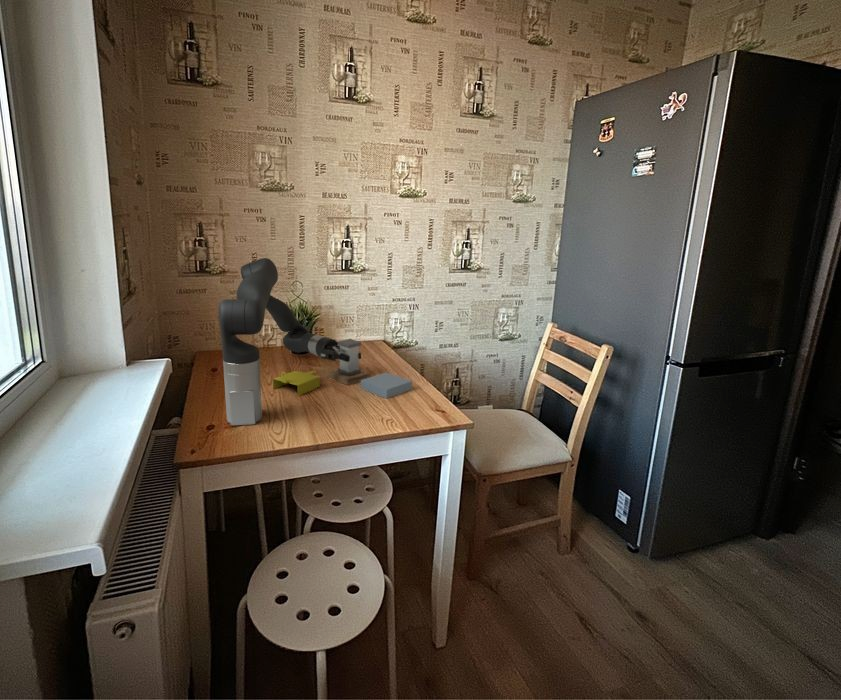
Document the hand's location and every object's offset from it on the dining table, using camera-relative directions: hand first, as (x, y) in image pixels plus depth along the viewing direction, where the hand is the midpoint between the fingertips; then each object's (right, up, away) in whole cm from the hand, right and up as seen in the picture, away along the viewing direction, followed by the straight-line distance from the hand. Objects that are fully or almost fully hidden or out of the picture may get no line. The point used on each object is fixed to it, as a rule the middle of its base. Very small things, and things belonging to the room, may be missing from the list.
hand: (354, 357), depth 167 cm
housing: (-2, -5, +3) cm, 7 cm away
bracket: (-17, -10, -6) cm, 21 cm away
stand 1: (-2, -7, +4) cm, 9 cm away
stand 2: (+11, -10, -4) cm, 16 cm away
